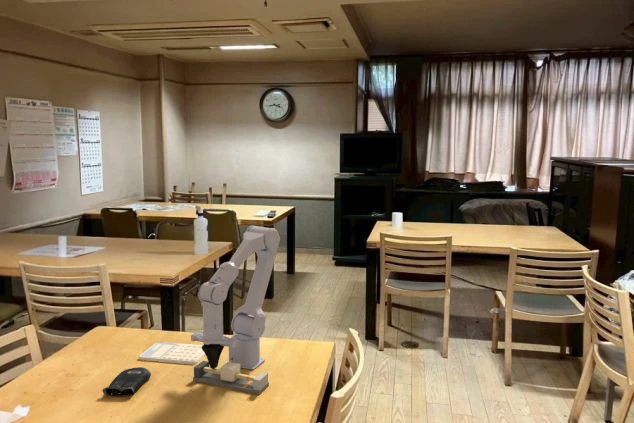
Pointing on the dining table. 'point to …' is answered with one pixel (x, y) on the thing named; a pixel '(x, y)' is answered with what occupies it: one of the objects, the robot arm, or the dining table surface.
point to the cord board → (241, 383)
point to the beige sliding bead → (229, 371)
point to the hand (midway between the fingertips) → (213, 367)
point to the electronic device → (128, 381)
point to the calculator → (173, 353)
